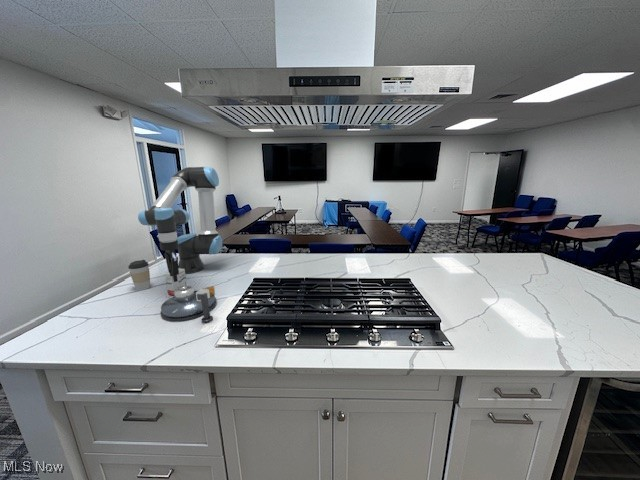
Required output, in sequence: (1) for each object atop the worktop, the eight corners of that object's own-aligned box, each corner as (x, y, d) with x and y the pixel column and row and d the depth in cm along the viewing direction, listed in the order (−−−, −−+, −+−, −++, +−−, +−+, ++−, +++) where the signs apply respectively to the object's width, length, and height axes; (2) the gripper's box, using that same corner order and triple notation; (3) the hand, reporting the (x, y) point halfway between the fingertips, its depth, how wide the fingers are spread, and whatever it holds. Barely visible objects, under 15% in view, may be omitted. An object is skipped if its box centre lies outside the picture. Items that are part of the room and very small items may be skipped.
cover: (182, 293, 122) (181, 283, 120) (198, 294, 121) (196, 283, 120) (171, 301, 114) (169, 290, 113) (187, 302, 113) (185, 291, 112)
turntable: (183, 293, 127) (181, 282, 125) (224, 295, 124) (222, 283, 122) (149, 316, 105) (146, 304, 104) (197, 319, 103) (195, 306, 101)
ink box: (176, 295, 127) (172, 274, 124) (167, 295, 128) (163, 273, 125) (188, 288, 135) (185, 268, 132) (180, 287, 136) (177, 267, 133)
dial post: (204, 315, 108) (200, 289, 105) (216, 316, 107) (212, 289, 104) (197, 322, 103) (192, 294, 100) (209, 323, 102) (205, 295, 99)
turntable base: (183, 295, 127) (182, 293, 127) (225, 297, 125) (225, 295, 124) (147, 320, 105) (147, 318, 105) (198, 323, 102) (198, 321, 102)
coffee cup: (138, 292, 131) (132, 265, 128) (129, 288, 136) (123, 262, 132) (156, 285, 139) (151, 260, 135) (147, 282, 143) (142, 258, 139)
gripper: (155, 240, 120) (163, 286, 125) (163, 244, 111) (171, 293, 116) (173, 237, 125) (179, 281, 130) (181, 241, 116) (188, 288, 122)
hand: (175, 287), depth 123 cm, fingers closed
